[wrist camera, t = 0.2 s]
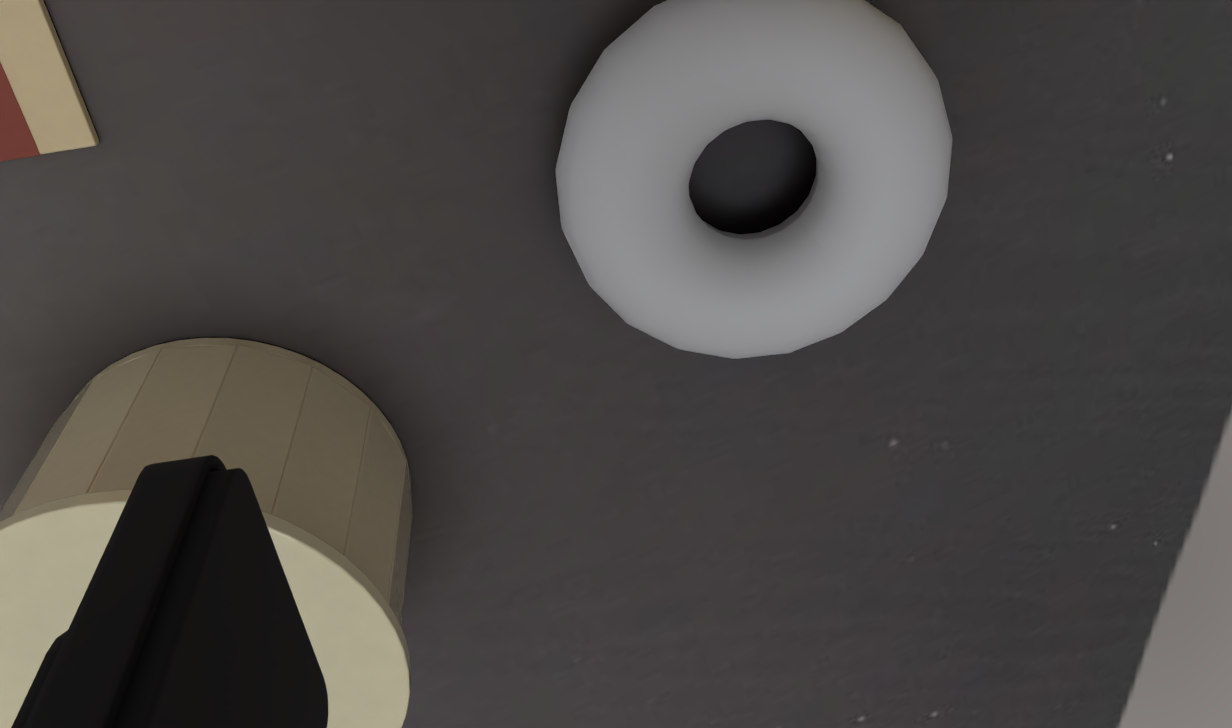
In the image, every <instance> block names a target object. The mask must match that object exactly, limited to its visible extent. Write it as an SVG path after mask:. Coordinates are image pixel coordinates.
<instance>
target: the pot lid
mask: <svg viewBox="0 0 1232 728" xmlns="http://www.w3.org/2000/svg"><path fill="white" fill-rule="evenodd" d="M131 491H132V489H121V490H111V491H101V492H92V493H84V494H80V495H75V496H70V497H66V498H61V499H56V500H52V501H49V502H46V503H43V504H41V505H38V506H35V507H32V508H29V509H26V510H23V511H21V512H19V513H17V514H15V515H13V516H11V517H9V518H7V519H5V520H3V521H1V522H0V728H11V727H12V725H13V723H14V721H15V719H16V717H17V714H18V712H19V710H20V708H21V706H22V704H23V702H24V699H25V697H26V695H27V693H28V691H29V689H30V687H31V685H32V682H33V680H34V678H35V676H36V674H37V672H38V670H39V668H40V665H41V663H42V661H43V659H44V657H45V655H46V653H47V651H48V650H49V648H50V647H51V645H52V644H53V642H54V641H55V639H56V638H57V637H59V636H60V635H61V634H63V633H64V632H66V631H67V630H68V629H69V627H70V625H71V622H72V620H73V618H74V616H75V614H76V612H77V609H78V607H79V605H80V603H81V601H82V598H83V596H84V594H85V592H86V590H87V588H88V585H89V583H90V581H91V579H92V577H93V574H94V572H95V570H96V568H97V566H98V564H99V561H100V559H101V557H102V555H103V553H104V550H105V548H106V546H107V544H108V542H109V539H110V537H111V535H112V533H113V531H114V529H115V526H116V524H117V522H118V520H119V518H120V515H121V513H122V511H123V509H124V507H125V505H126V502H127V500H128V498H129V496H130V494H131ZM261 511H262V510H261ZM262 514H263V517H264V519H265V522H266V525H267V527H268V530H269V533H270V535H271V538H272V541H273V543H274V546H275V549H276V551H277V554H278V557H279V559H280V562H281V565H282V567H283V570H284V573H285V575H286V578H287V581H288V583H289V586H290V589H291V591H292V594H293V597H294V599H295V602H296V605H297V607H298V610H299V613H300V615H301V618H302V621H303V623H304V626H305V629H306V631H307V634H308V637H309V639H310V642H311V645H312V647H313V650H314V653H315V655H316V658H317V661H318V663H319V666H320V669H321V671H322V674H323V677H324V680H325V683H326V688H327V694H328V724H327V728H402V726H403V723H404V720H405V717H406V714H407V709H408V702H409V695H410V686H411V668H410V657H409V652H408V648H407V644H406V639H405V636H404V634H403V632H402V629H401V627H400V625H399V622H398V620H397V617H396V615H395V614H394V612H393V611H392V609H391V607H390V606H389V604H388V603H387V601H386V599H385V598H384V596H383V595H382V593H381V592H380V591H379V590H378V589H377V588H376V586H375V585H374V584H373V583H372V582H371V581H370V579H369V578H368V577H367V576H366V575H365V574H364V573H363V572H362V571H361V570H360V569H359V568H358V567H357V566H355V565H354V564H353V563H352V562H351V561H350V560H349V559H348V558H346V557H345V556H344V555H343V554H342V553H340V552H339V551H337V550H336V549H334V548H333V547H331V546H330V545H329V544H327V543H326V542H324V541H323V540H321V539H320V538H318V537H317V536H315V535H313V534H311V533H309V532H307V531H306V530H304V529H302V528H300V527H298V526H296V525H295V524H293V523H291V522H288V521H286V520H284V519H281V518H279V517H276V516H274V515H271V514H269V513H267V512H264V511H262Z"/></svg>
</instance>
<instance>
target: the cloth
mask: <svg viewBox="0 0 1232 728" xmlns="http://www.w3.org/2000/svg"><path fill="white" fill-rule="evenodd" d="M98 143H99V139H98V136H97V134H96V131H95V129H94V126H93V124H92V121H91V119H90V116H89V114H88V111H87V109H86V106H85V104H84V101H83V99H82V96H81V94H80V91H79V89H78V86H77V84H76V81H75V79H74V76H73V74H72V71H71V69H70V66H69V63H68V61H67V58H66V56H65V53H64V51H63V48H62V46H61V43H60V41H59V38H58V36H57V33H56V31H55V28H54V26H53V23H52V21H51V18H50V16H49V13H48V11H47V8H46V6H45V3H44V1H43V0H0V161H6V160H12V159H19V158H25V157H31V156H38V155H40V154H46V153H52V152H59V151H65V150H71V149H78V148H84V147H91V146H96V145H97V144H98Z"/></svg>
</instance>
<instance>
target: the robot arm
mask: <svg viewBox="0 0 1232 728" xmlns="http://www.w3.org/2000/svg"><path fill="white" fill-rule="evenodd" d="M327 724H328V694H327V688H326V683H325V680H324V677H323V674H322V671H321V669H320V666H319V663H318V661H317V658H316V655H315V653H314V650H313V647H312V645H311V642H310V639H309V637H308V634H307V631H306V629H305V626H304V623H303V621H302V618H301V615H300V613H299V610H298V607H297V605H296V602H295V599H294V597H293V594H292V591H291V589H290V586H289V583H288V581H287V578H286V575H285V573H284V570H283V567H282V565H281V562H280V559H279V557H278V554H277V551H276V549H275V546H274V543H273V541H272V538H271V535H270V533H269V530H268V527H267V525H266V522H265V519H264V517H263V514H262V511H261V509H260V506H259V503H258V501H257V498H256V495H255V493H254V490H253V487H252V485H251V482H250V480H249V478H248V476H247V474H246V473H245V471H244V470H243V469H240V468H234V469H228V470H227V469H226V467H225V465H224V463H223V462H222V461H221V460H220V459H219V458H218V457H217V456H214V455H208V456H201V457H195V458H188V459H181V460H174V461H167V462H161V463H154V464H150V465H147V466H145V467H144V468H143V470H142V471H141V473H140V474H139V476H138V478H137V481H136V483H135V485H134V487H133V489H132V491H131V494H130V496H129V498H128V500H127V502H126V505H125V507H124V509H123V511H122V513H121V515H120V518H119V520H118V522H117V524H116V526H115V529H114V531H113V533H112V535H111V537H110V539H109V542H108V544H107V546H106V548H105V550H104V553H103V555H102V557H101V559H100V561H99V564H98V566H97V568H96V570H95V572H94V574H93V577H92V579H91V581H90V583H89V585H88V588H87V590H86V592H85V594H84V596H83V598H82V601H81V603H80V605H79V607H78V609H77V612H76V614H75V616H74V618H73V620H72V622H71V625H70V627H69V629H68V630H67V631H66V632H64V633H63V634H61V635H60V636H59V637H57V638H56V639H55V641H54V642H53V644H52V645H51V647H50V648H49V650H48V651H47V653H46V655H45V657H44V659H43V661H42V663H41V665H40V668H39V670H38V672H37V674H36V676H35V678H34V680H33V682H32V685H31V687H30V689H29V691H28V693H27V695H26V697H25V699H24V702H23V704H22V706H21V708H20V710H19V712H18V714H17V717H16V719H15V721H14V723H13V725H12V727H11V728H327Z"/></svg>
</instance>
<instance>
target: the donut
mask: <svg viewBox="0 0 1232 728" xmlns="http://www.w3.org/2000/svg"><path fill="white" fill-rule="evenodd" d="M767 119H769V120H774V121H779V122H783V123H788V124H791V125H792V126H794V127H796V128H797V129H799V130H801V131H802V133H803V134H804V135H805V137H806V138H807V139H808V140H809V142H810V143H811V144H812V146H813V149H814V152H815V155H816V176H815V179H814V182H813V185H812V188H811V191H810V193H809V195H808V197H807V198H806V199H805V201H804V202H803V204H802V205H801V206H800V208H799V209H798V210H797V211H796V212H795V213H794V214H793V215H791V216H790V217H789V218H787V219H786V220H785V221H783V222H782V223H781V224H779V225H777V226H774V227H772V228H769V229H767V230H764V231H762V232H759V233H750V234H735V233H729V232H724V231H720V230H718V229H716V228H714V227H713V226H711V225H709V224H707V223H705V222H704V221H703V220H702V219H701V218H700V217H699V216H698V215H697V214H696V212H695V209H694V207H693V204H692V202H691V199H690V197H689V180H690V176H691V173H692V170H693V166H694V163H695V162H696V160H697V159H698V157H699V156H700V154H701V153H702V151H703V150H704V148H705V147H706V146H707V144H709V143H710V142H711V141H712V140H714V139H715V138H716V137H717V136H719V135H720V134H721V133H722V132H723V131H725V130H727V129H729V128H732V127H734V126H737V125H739V124H741V123H744V122H747V121H757V120H767ZM952 140H953V138H952V134H951V130H950V126H949V122H948V118H947V114H946V110H945V106H944V102H943V98H942V94H941V90H940V86H939V82H938V80H937V78H936V76H935V74H934V72H933V71H932V69H931V68H930V66H929V65H928V64H927V62H926V61H925V59H924V58H923V56H922V55H921V53H920V52H919V51H918V49H917V48H916V46H915V45H914V43H913V42H912V40H911V39H910V38H909V36H908V35H907V33H906V32H905V30H904V29H903V27H902V26H901V25H900V24H899V23H897V22H896V21H895V20H893V19H892V18H890V17H889V16H887V15H886V14H884V13H883V12H881V11H880V10H878V9H877V8H875V7H874V6H872V5H871V4H870V3H868V2H867V1H865V0H667V1H664V2H662V3H660V4H657V5H655V6H653V7H652V8H651V9H650V10H649V11H648V12H647V13H645V14H644V15H643V16H642V17H641V18H640V19H639V20H637V21H636V22H635V23H634V24H633V25H632V26H631V27H629V28H628V29H627V30H626V31H625V32H624V33H623V34H621V35H620V36H619V37H618V38H617V39H616V40H615V41H613V42H612V43H611V44H610V45H609V46H608V47H607V48H605V49H604V51H603V52H602V54H601V56H600V57H599V59H598V61H597V62H596V64H595V66H594V67H593V69H592V71H591V72H590V74H589V75H588V77H587V79H586V80H585V82H584V84H583V85H582V87H581V89H580V90H579V92H578V94H577V95H576V97H575V99H574V100H573V102H572V104H571V106H570V109H569V113H568V117H567V121H566V126H565V130H564V135H563V139H562V143H561V148H560V152H559V156H558V161H557V165H556V169H555V172H556V181H557V191H558V200H559V209H560V219H561V228H562V230H563V232H564V234H565V236H566V239H567V241H568V243H569V245H570V247H571V249H572V251H573V253H574V255H575V257H576V259H577V262H578V264H579V266H580V268H581V270H582V272H583V274H584V276H585V278H586V280H587V282H588V284H589V286H590V287H591V288H592V289H593V290H594V291H595V292H596V293H597V294H598V295H599V296H600V297H601V298H602V299H603V300H604V301H605V302H606V303H607V304H608V305H609V306H610V307H611V308H612V309H613V310H614V311H615V312H616V313H617V314H618V315H619V316H620V317H621V318H622V319H623V320H624V321H625V322H626V323H627V324H629V325H631V326H633V327H635V328H637V329H639V330H641V331H643V332H645V333H647V334H649V335H651V336H653V337H655V338H657V339H659V340H661V341H663V342H665V343H667V344H669V345H671V346H673V347H675V348H677V349H681V350H686V351H692V352H697V353H703V354H709V355H715V356H721V357H727V358H733V359H737V358H747V357H756V356H765V355H774V354H783V353H790V352H792V351H795V350H798V349H800V348H803V347H805V346H808V345H811V344H813V343H816V342H818V341H821V340H823V339H826V338H829V337H831V336H834V335H836V334H839V333H841V332H843V331H844V330H845V329H847V328H848V327H850V326H851V325H852V324H854V323H855V322H856V321H858V320H859V319H861V318H862V317H863V316H865V315H866V314H867V313H869V312H870V311H872V310H873V309H874V308H876V307H877V306H879V305H880V304H881V303H883V302H884V301H885V300H887V299H888V297H889V296H890V295H891V294H892V292H893V291H894V290H895V289H896V288H897V286H898V285H899V284H900V283H901V281H902V280H903V279H904V278H905V276H906V275H907V274H908V273H909V271H910V270H911V269H912V268H913V267H914V265H915V264H916V263H917V262H918V260H919V259H920V258H921V257H922V255H923V253H924V251H925V248H926V246H927V244H928V241H929V239H930V237H931V234H932V232H933V229H934V227H935V225H936V222H937V220H938V218H939V215H940V213H941V210H942V208H943V206H944V203H945V201H946V198H947V193H948V183H949V172H950V161H951V151H952Z"/></svg>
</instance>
